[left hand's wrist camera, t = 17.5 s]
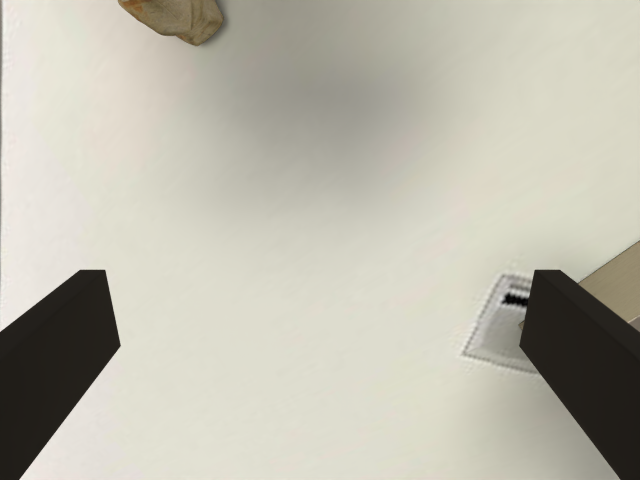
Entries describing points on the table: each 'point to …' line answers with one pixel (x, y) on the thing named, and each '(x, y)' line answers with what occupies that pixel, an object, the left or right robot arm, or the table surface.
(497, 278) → the table surface
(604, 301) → the bar
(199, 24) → the sculpture
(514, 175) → the table surface
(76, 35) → the table surface
